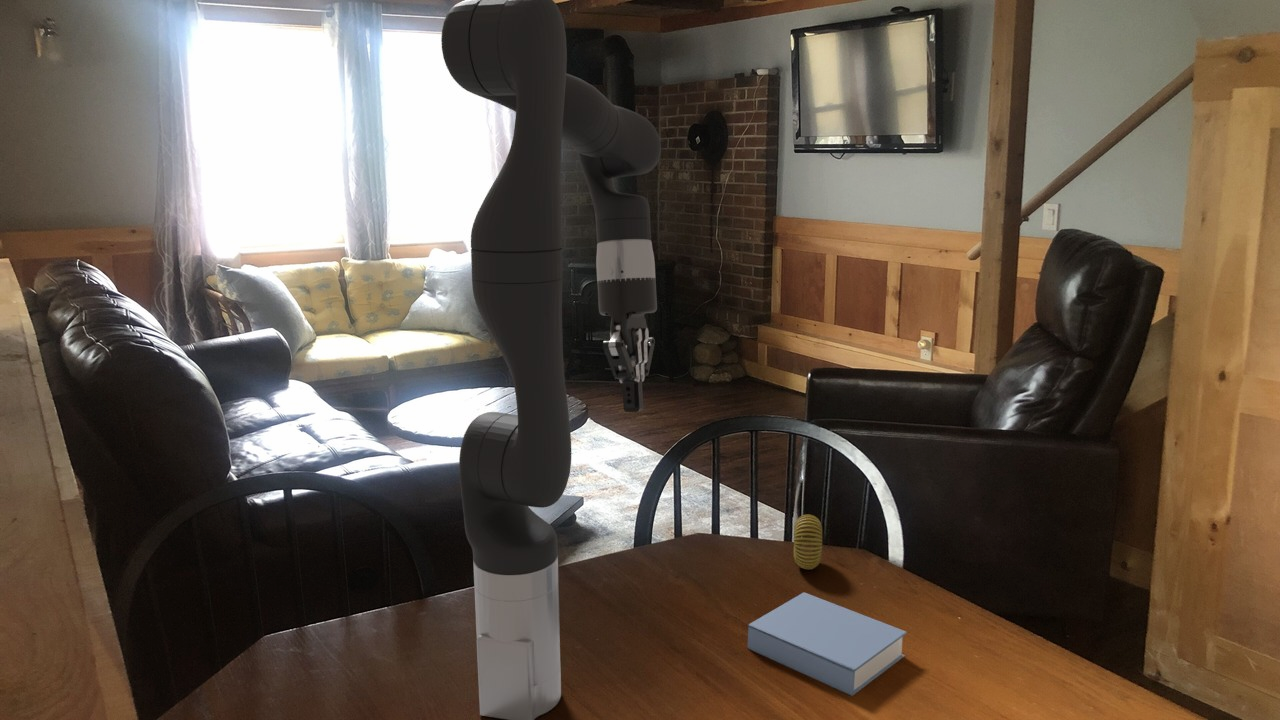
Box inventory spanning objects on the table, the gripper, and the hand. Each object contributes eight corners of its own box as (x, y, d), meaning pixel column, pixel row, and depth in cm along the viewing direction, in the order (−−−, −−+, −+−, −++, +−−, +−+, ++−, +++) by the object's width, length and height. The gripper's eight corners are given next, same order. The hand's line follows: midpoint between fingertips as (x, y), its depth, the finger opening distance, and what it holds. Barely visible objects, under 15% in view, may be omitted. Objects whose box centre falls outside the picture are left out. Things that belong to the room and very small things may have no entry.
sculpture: (821, 579, 138) (823, 527, 136) (793, 577, 138) (794, 526, 136) (819, 556, 145) (821, 506, 144) (793, 554, 146) (794, 505, 144)
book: (803, 616, 128) (904, 657, 118) (747, 650, 119) (852, 697, 109) (803, 592, 127) (906, 631, 117) (748, 624, 119) (853, 670, 108)
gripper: (635, 273, 116) (643, 416, 116) (670, 276, 128) (677, 405, 129) (578, 278, 118) (586, 417, 119) (618, 280, 131) (625, 407, 131)
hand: (633, 411), depth 124 cm, fingers closed
